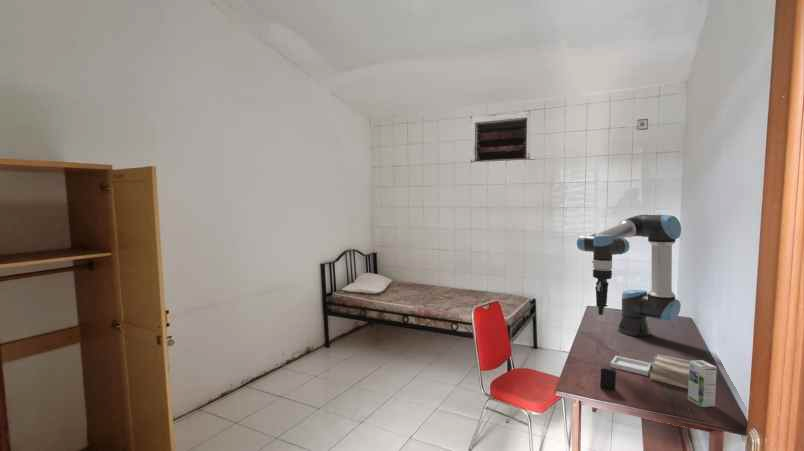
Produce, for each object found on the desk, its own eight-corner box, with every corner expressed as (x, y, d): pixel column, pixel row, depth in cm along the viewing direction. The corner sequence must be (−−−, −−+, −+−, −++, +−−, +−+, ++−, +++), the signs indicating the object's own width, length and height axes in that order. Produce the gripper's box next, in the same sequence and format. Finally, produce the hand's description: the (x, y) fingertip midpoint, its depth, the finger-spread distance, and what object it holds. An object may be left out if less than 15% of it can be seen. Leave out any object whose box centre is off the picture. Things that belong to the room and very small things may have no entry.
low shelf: (655, 366, 168) (656, 353, 168) (696, 375, 159) (696, 362, 159) (649, 379, 156) (650, 365, 156) (692, 389, 147) (693, 375, 147)
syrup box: (686, 399, 140) (688, 360, 139) (702, 398, 141) (703, 359, 140) (700, 407, 135) (701, 367, 134) (716, 406, 135) (717, 366, 134)
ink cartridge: (615, 389, 148) (616, 369, 148) (614, 391, 147) (615, 371, 146) (601, 385, 151) (602, 365, 151) (600, 387, 150) (601, 367, 149)
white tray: (615, 360, 176) (615, 355, 176) (651, 368, 167) (652, 363, 167) (610, 368, 168) (610, 362, 168) (648, 377, 159) (648, 371, 159)
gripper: (597, 266, 180) (596, 316, 182) (589, 270, 170) (588, 322, 172) (615, 268, 175) (613, 319, 177) (608, 272, 165) (606, 326, 167)
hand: (601, 321), depth 174 cm, fingers closed
